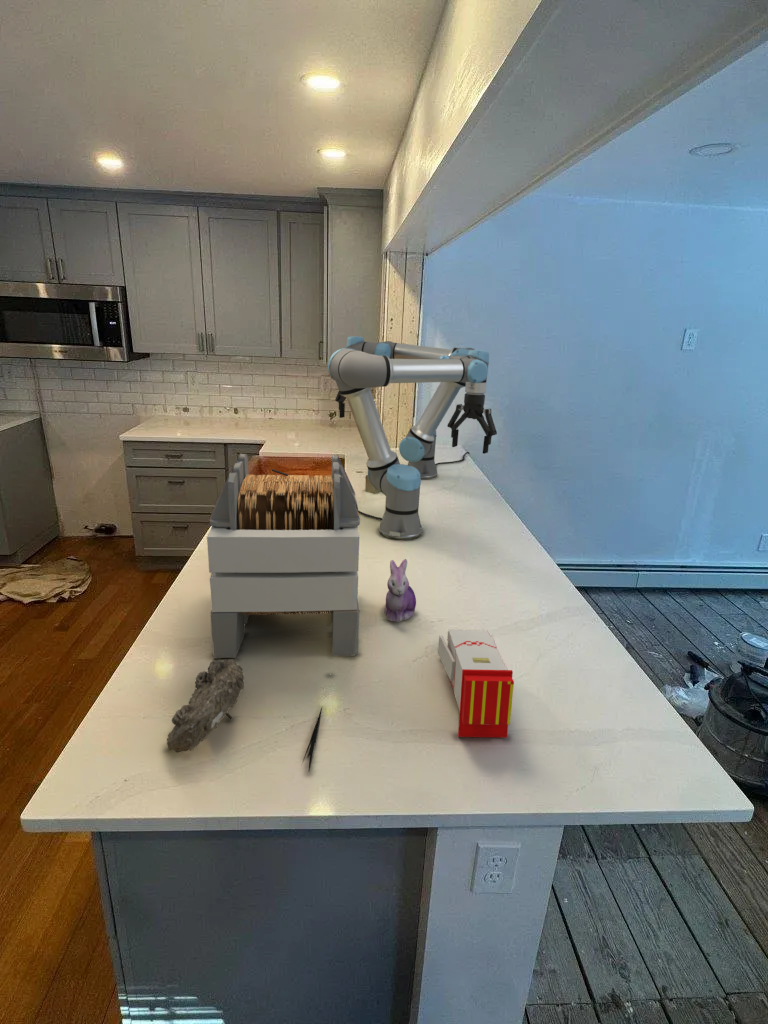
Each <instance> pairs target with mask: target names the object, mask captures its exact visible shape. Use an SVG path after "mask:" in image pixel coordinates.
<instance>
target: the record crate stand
mask: <svg viewBox="0 0 768 1024" xmlns="http://www.w3.org/2000/svg"><path fill="white" fill-rule="evenodd" d="M358 510H359V507H358V502H357V496H356V491H355V490H354V487H353V485H352V483H351V481H350V479H349V476H348V474H347V472H346V470H345V468H344V465H343V464H342V461H341V459H340V456H339V454H333V453H331V475H318V474H317V475H313V476H310V475H306V474H305V475H304V474H303V475H302V474H301V475H300V474H289V475H288V476H285V475H281V474H277V475H276V474H257V475H255V474H250V473H249V459H248V453H242V452H241V453H239V455H238V457H237V460H236V461H235V463H234V465H233V467H232V470H231V471H230V472H229V474H228V477H227V478H226V480H225V483H224V485H223V487H222V490H221V492H220V494H219V496H218V499H217V501H216V503H215V505H214V507H213V509H212V511H211V514H210V517H209V526H210V529H209V531H208V534H207V536H206V542H207V558H208V572H209V574H210V573H211V574H210V576H209V586H210V602H211V610H210V629H211V630H210V631H211V639H212V648H213V655H212V657H213V659H216V660H217V659H218V660H221V659H236V658H237V655H238V653H239V651H240V647H241V645H242V643H243V640H244V637H245V634H246V633H245V631H246V629H245V625H246V626H247V625H248V621H249V616H252V615H256V616H263V615H265V616H266V615H267V616H269V615H306V614H307V615H313V614H314V615H315V614H316V615H317V614H318V615H323V614H324V615H325V614H330V617H331V618H330V620H331V621H330V622H331V645H332V657H333V656H334V657H335V656H337V657H339V656H340V657H342V656H344V657H345V656H348V657H355V656H357V655H358V654H359V640H360V639H359V636H360V635H359V634H360V605H359V598H358V592H359V573H358V572H359V563H360V562H359V560H360V558H359V557H360V556H359V555H360V532H359V526H360V523H361V517H360V514H359V511H360V510H359V511H358Z"/></svg>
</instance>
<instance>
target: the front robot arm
mask: <svg viewBox="0 0 768 1024" xmlns="http://www.w3.org/2000/svg"><path fill="white" fill-rule="evenodd" d="M489 362H490V353H489V351H487V350H484V349H475V350H470V351H469V352H468V356H451V355H447V356H440V357H439V358H438V359H389V357H388V356H380V355H373V354H368V353H365V352H362V351H357V350H354V349H352V348H346V347H343V348H339V349H338V350H335V351H334V352H333V353H332V354H331V356H330V358H329V359H328V363H327V370H328V373H329V375H330V377H331V379H332V380H333V381H335V384H336V386H337V389H338V392H340V394H341V395H342V396H344V397H346V401H347V404H348V406H349V408H350V411H351V415H352V418H353V419H354V420H353V421H354V422H355V425H356V428H357V430H358V433H359V436H360V439H361V441H362V444H363V447H364V449H365V452H366V455H367V458H368V459H367V461H366V463H365V464H366V467H367V475H368V478H369V481H370V482H371V484H372V485H373V487H375V488H376V489H377V490H379V491H380V492H379V493H381V494H382V495H384V496H385V504H384V505H385V507H384V508H385V509H384V513H383V515H382V517H380V516H376V515H372V514H369V513H365V512H362V511H360V510H359V509H358V511H359V515H362V516H364V517H367V518H370V519H373V520H377V521H381V522H379V526H378V533H379V534H380V535H381V536H382V537H385V538H387V539H389V540H395V541H410V540H415V539H418V538H420V537H421V536H422V535H423V525H422V524H421V518H420V515H419V507H420V506H419V505H420V496H421V495H420V494H421V493H420V492H421V483H422V479H420V472H419V471H418V470H417V469H416V468H414V467H412V466H408V464H403V463H401V462H400V460H399V457H398V453H397V452H396V451H393V450H392V449H391V446H390V443H389V440H388V437H387V434H386V432H385V429H384V426H383V422H382V420H381V417H380V414H379V411H378V408H377V405H376V402H375V400H374V397H373V394H372V391H371V388H381V387H382V388H383V387H384V388H385V387H388V386H389V385H390V384H413V383H414V384H419V383H420V384H421V383H423V384H424V383H426V384H427V383H441V382H466V386H465V387H464V391H465V393H464V397H463V403H464V404H462V403H458V404H456V405H455V410H454V412H453V414H452V416H451V417H450V419H449V420H448V421H449V422H448V423H447V425H446V426H447V428H449V429H451V434H450V438H452V440H451V447H452V448H455V447H458V444H459V443H458V442H459V431H460V430H459V429H458V428H459V427H460V426H461V425H462V424H463V423H464V421H466V419H471V420H476V421H477V422H478V423H479V426H480V427H481V429H482V430H483V432H484V434H485V435H484V436H483V444H482V445H483V446H482V454H488V453H489V446H491V444H492V437H493V436H496V435H497V434H498V432H497V428H496V424H495V422H494V419H493V415H492V408H485V406H484V405H485V402H486V401H485V400H486V395H485V394H486V390H487V381H488V380H487V379H488V373H489V365H490V364H489ZM462 411H463V413H462V414H461V412H462ZM460 414H461V416H460ZM483 414H484V415H483ZM459 416H460V417H459ZM484 416H485V417H484ZM271 472H274V473H277V474H278V475H281V476H284V477H285V476H286V477H287V476H288V475H290V474H288V473H285V472H282V471H280V470H276V469H274V468H272V469H271Z"/></svg>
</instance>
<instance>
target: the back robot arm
mask: <svg viewBox="0 0 768 1024" xmlns="http://www.w3.org/2000/svg"><path fill="white" fill-rule="evenodd" d="M345 348H352V349H354V350H357V351H362V352H365V353H368V354H373V355H380V356H388V357H389V359H438V358H439V357H440V356H447V355H451V356H468V352H469V351H470V350H476V349H475V348H472V347H452V348H451V349H450V348H449V349H448V348H441V347H434V346H433V347H432V346H426V345H418V344H409V343H400V342H393V341H390V340H386V341H379V342H372V341H365V338H364V337H363V336H357V335H350V336H348V337H347V338H346V347H345ZM465 386H466V382H439V385H438V386H437V388H436V390H435V392H434V393H433V395H432V397H431V399H430V401H429V402H428V404H427V406H426V408H425V409H424V411H423V413H422V414H421V416H420V417H419V420H418V422H417V423H416V425H412V426H410V429H409V430H408V432H407V434H406V436H405V437H404V438H403V439H402V440H401V441H400V443H399V446H398V451H399V454H400V457H401V458H402V459H403V460H405V461H407V465H408V466H412V467H414V468H416V469H417V470H418V471H419V472H420V479H421V480H432V479H435V478H437V477H438V470H437V466H438V465H447V464H455V463H456V464H457V463H461V462H462V461H464V460H465V456H466V455H467V454H468V455H471V454H470V451H466V452H465V453H464V454H463V455H462V459H459V460H458V459H457V460H453V461H442V462H435V461H436V460H435V458H436V457H435V455H436V443H437V436H438V435H437V429H438V427H439V426H440V424H441V422H442V421H443V419H444V417H445V416H446V414H447V412H448V410H449V409H450V407H451V405H452V404H453V402H454V400H455V399H456V397H457V395H458V394H459V392H460V390H461V389H462V388H465ZM346 400H347V398H346V397H344V396H342V395H341V394H340V392H339V391H338V392H337V394H336V396H335V399H334V401H335V402H337V403H338V410H339V418H340V419H342V418H345V414H346V411H345V409H346V404H345V401H346Z"/></svg>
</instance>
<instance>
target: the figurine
mask: <svg viewBox="0 0 768 1024" xmlns="http://www.w3.org/2000/svg"><path fill="white" fill-rule="evenodd" d="M407 567H408V559H406V558H404V559H403V560H402V561H401V563H400V565H399V566H398V565H397V563H396V562H395V561H394V560H393V559H391V560H390V561H389V570H390V576H389V578H388V579H387V589H388V591H387V592H386V594H385V595H386V596H385V607H384V615H385V616H386V620H387V621H391V622H395V623H400V622H402V621H406V620H409V619H410V618H411V617H413V616H414V615H415V610H416V606H417V597H416V593H415V591H414V590H413V587H411V586H410V582H409V579H408V577H407V574H406V571H407Z"/></svg>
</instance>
